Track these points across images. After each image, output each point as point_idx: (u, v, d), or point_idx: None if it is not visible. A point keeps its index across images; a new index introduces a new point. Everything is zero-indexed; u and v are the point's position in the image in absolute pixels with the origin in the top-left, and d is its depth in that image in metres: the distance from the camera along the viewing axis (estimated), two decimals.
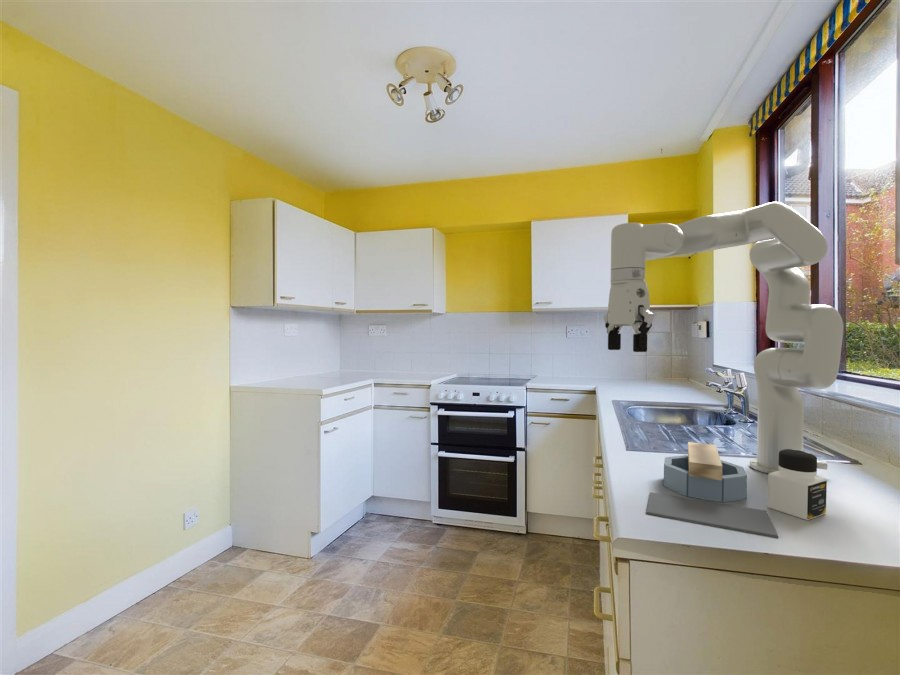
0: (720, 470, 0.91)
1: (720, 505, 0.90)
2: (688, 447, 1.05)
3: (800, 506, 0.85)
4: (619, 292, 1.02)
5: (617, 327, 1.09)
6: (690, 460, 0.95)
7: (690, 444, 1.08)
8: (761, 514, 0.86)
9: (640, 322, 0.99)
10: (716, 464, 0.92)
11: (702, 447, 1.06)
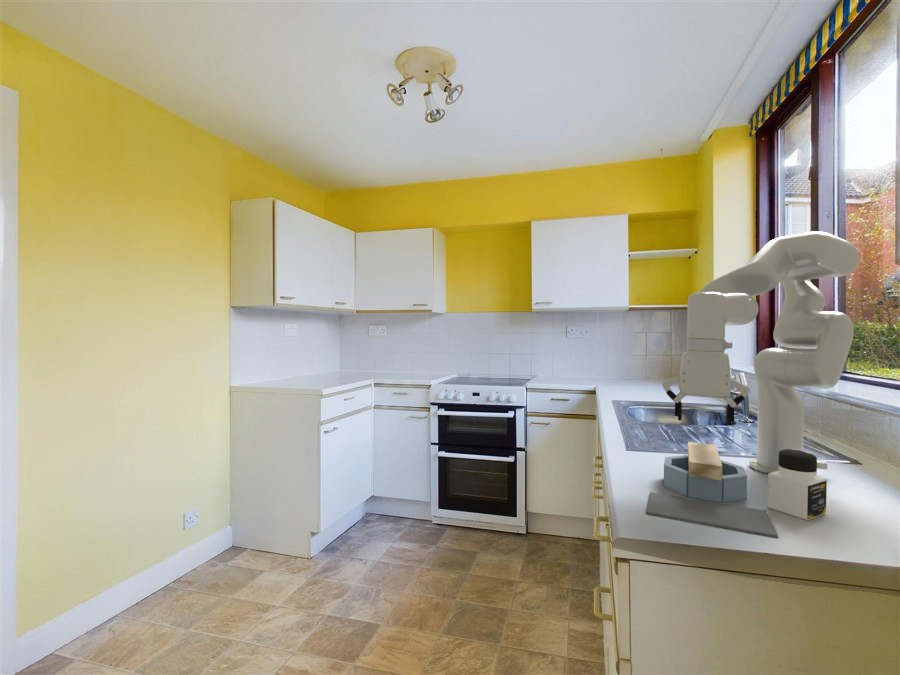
0: (720, 470, 0.91)
1: (720, 505, 0.90)
2: (688, 447, 1.05)
3: (800, 506, 0.85)
4: (708, 363, 0.98)
5: None
6: (690, 460, 0.95)
7: (690, 444, 1.08)
8: (761, 514, 0.86)
9: None
10: (716, 464, 0.92)
11: (702, 447, 1.06)
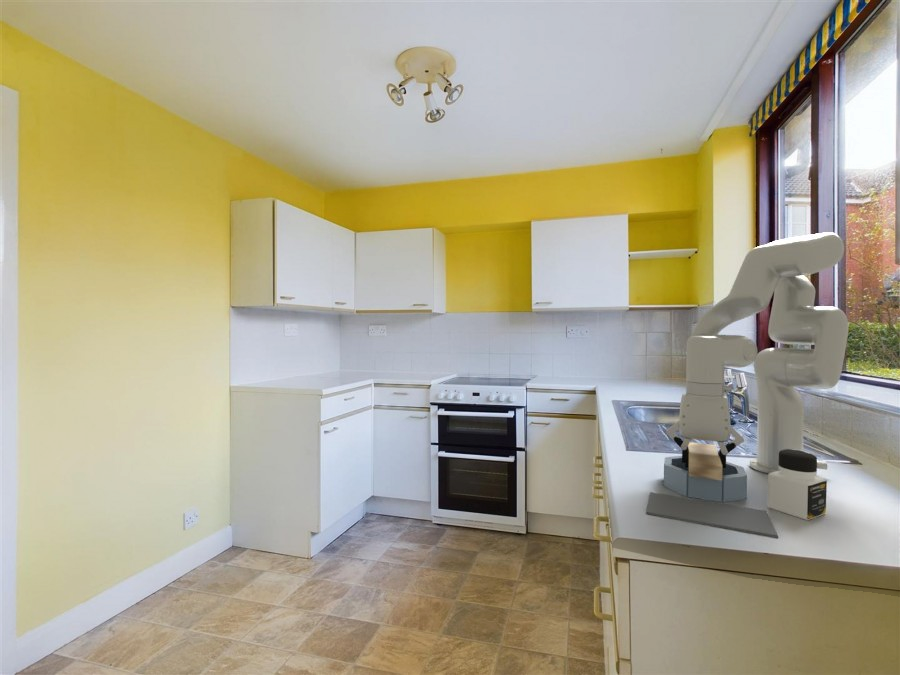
0: (720, 470, 0.91)
1: (720, 505, 0.90)
2: (688, 447, 1.05)
3: (800, 506, 0.85)
4: (708, 407, 0.98)
5: None
6: (690, 460, 0.95)
7: (690, 444, 1.08)
8: (761, 514, 0.86)
9: None
10: (716, 464, 0.92)
11: (702, 447, 1.06)
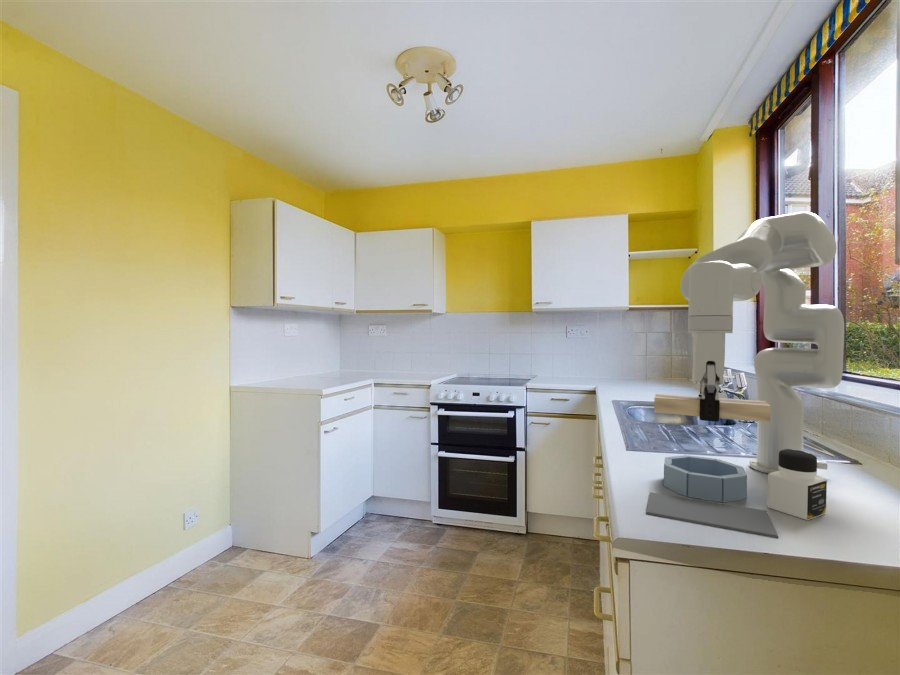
0: None
1: (720, 505, 0.90)
2: (688, 399, 0.86)
3: (800, 506, 0.85)
4: None
5: (704, 390, 0.84)
6: (761, 405, 0.80)
7: (668, 398, 0.88)
8: (761, 514, 0.86)
9: None
10: (760, 401, 0.84)
11: (678, 397, 0.89)
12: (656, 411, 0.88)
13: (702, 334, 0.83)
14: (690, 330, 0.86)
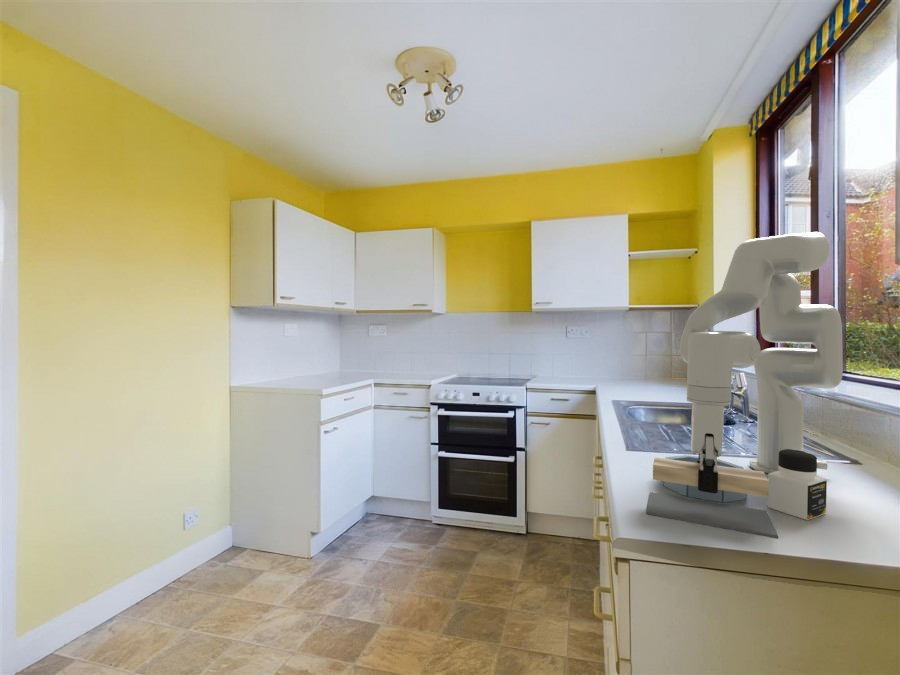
0: None
1: (720, 505, 0.90)
2: (686, 469, 0.86)
3: (800, 506, 0.85)
4: None
5: (703, 461, 0.84)
6: (759, 479, 0.80)
7: (667, 465, 0.88)
8: (761, 514, 0.86)
9: None
10: (759, 472, 0.84)
11: (677, 464, 0.89)
12: (655, 478, 0.88)
13: (701, 406, 0.83)
14: (689, 399, 0.87)
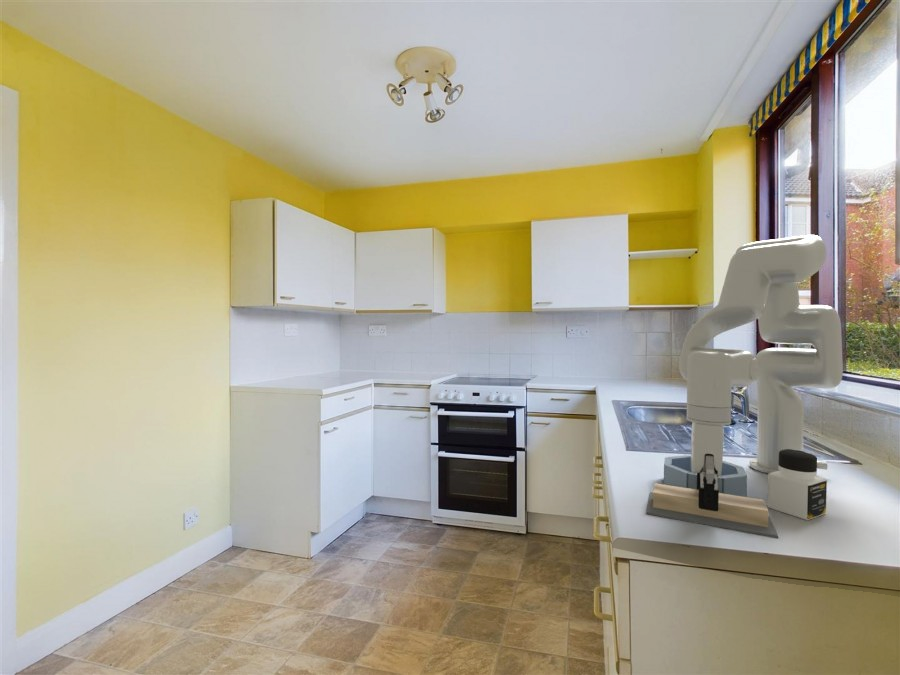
0: None
1: None
2: (686, 497, 0.86)
3: (800, 506, 0.85)
4: None
5: None
6: (759, 509, 0.81)
7: (667, 493, 0.88)
8: None
9: None
10: (759, 500, 0.85)
11: (677, 491, 0.89)
12: (655, 506, 0.89)
13: (700, 426, 0.83)
14: (689, 418, 0.87)
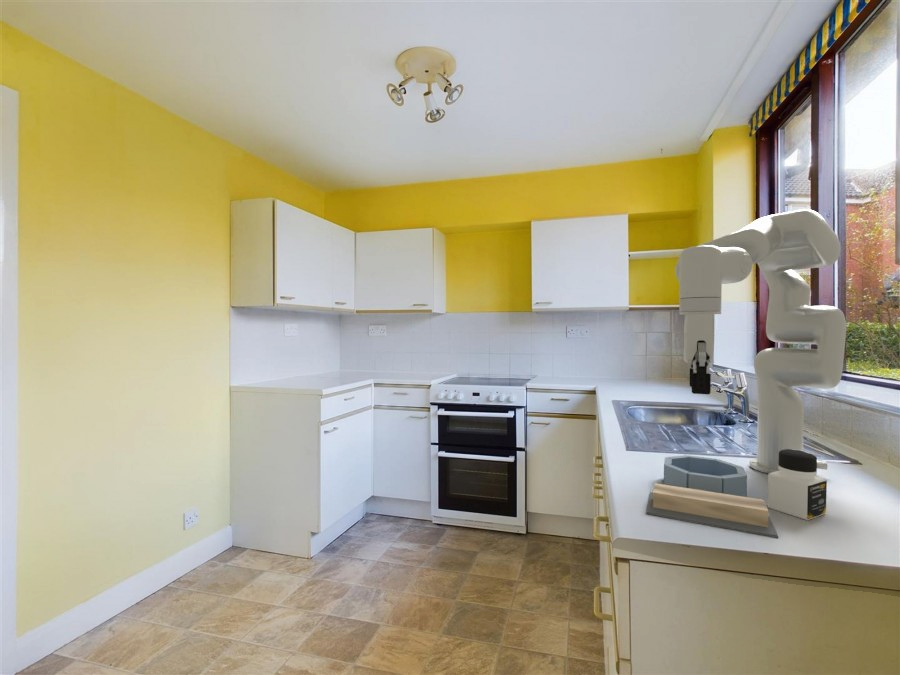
0: None
1: None
2: (686, 497, 0.86)
3: (800, 506, 0.85)
4: None
5: (696, 365, 0.87)
6: (759, 509, 0.81)
7: (667, 493, 0.88)
8: None
9: None
10: (759, 500, 0.85)
11: (677, 491, 0.89)
12: (655, 506, 0.89)
13: (693, 315, 0.87)
14: (681, 312, 0.91)
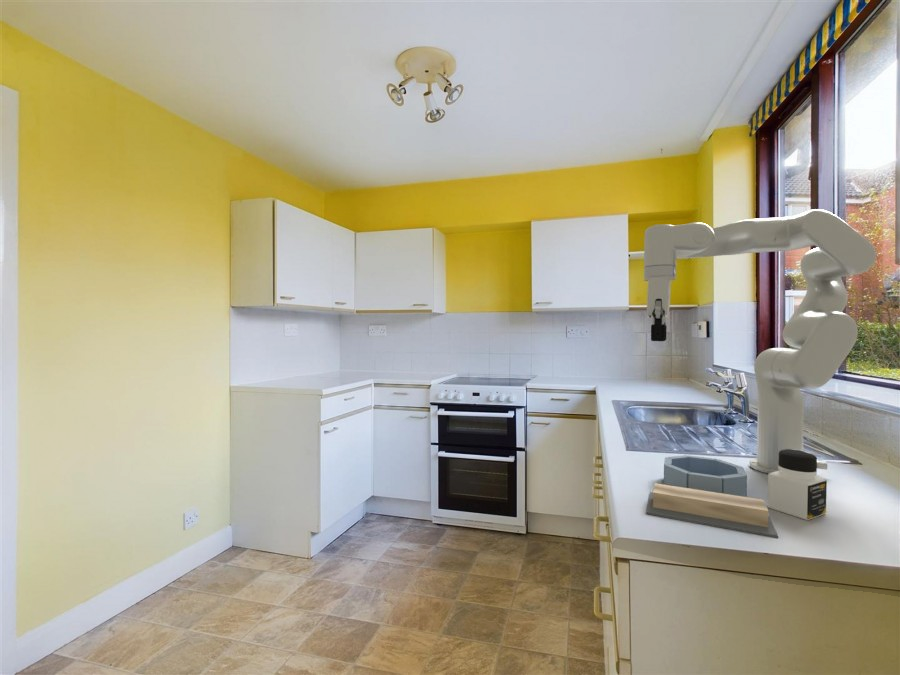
0: None
1: None
2: (686, 497, 0.86)
3: (800, 506, 0.85)
4: None
5: None
6: (759, 509, 0.81)
7: (667, 493, 0.88)
8: None
9: None
10: (759, 500, 0.85)
11: (677, 491, 0.89)
12: (655, 506, 0.89)
13: (652, 279, 1.10)
14: (645, 277, 1.14)
